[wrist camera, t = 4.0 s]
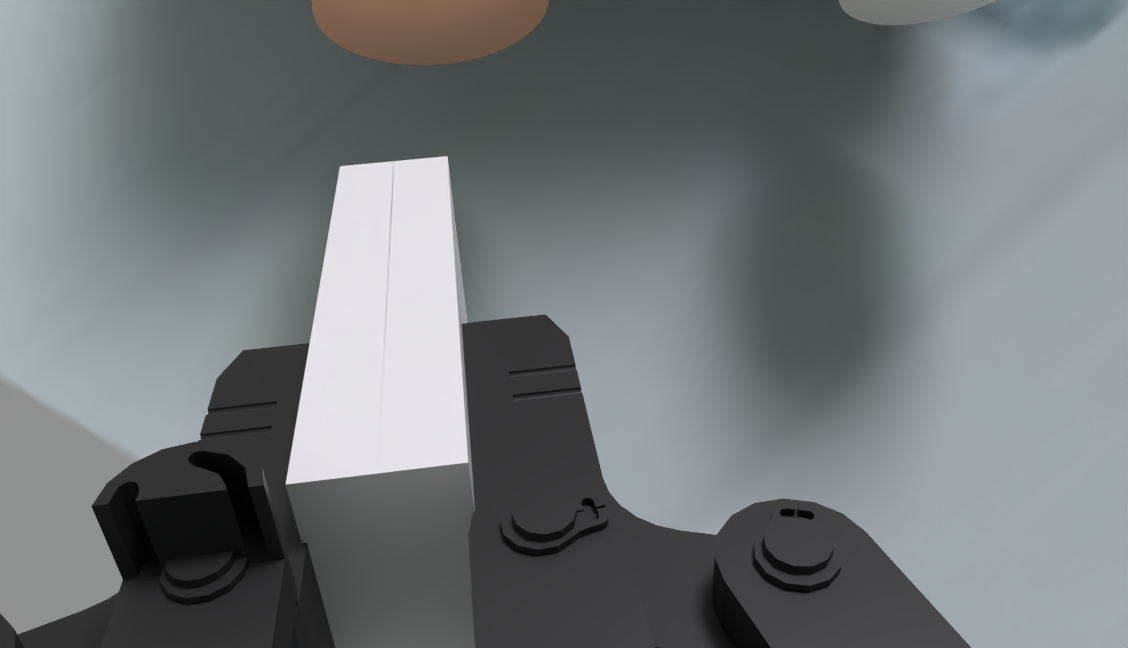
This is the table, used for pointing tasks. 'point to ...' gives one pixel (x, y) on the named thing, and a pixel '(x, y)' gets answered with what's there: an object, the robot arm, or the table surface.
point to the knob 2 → (908, 10)
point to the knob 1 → (427, 27)
